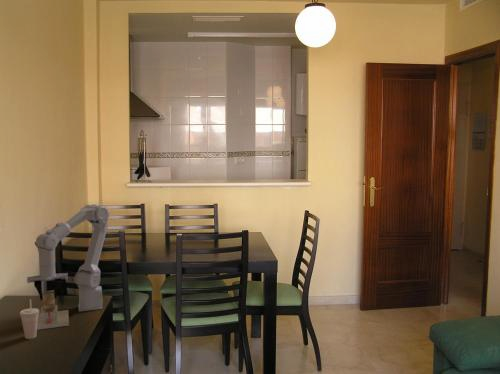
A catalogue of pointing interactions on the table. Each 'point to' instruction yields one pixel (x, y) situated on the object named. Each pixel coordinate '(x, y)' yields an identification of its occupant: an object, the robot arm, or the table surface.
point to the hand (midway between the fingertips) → (48, 298)
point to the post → (48, 300)
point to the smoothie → (30, 321)
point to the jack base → (52, 318)
